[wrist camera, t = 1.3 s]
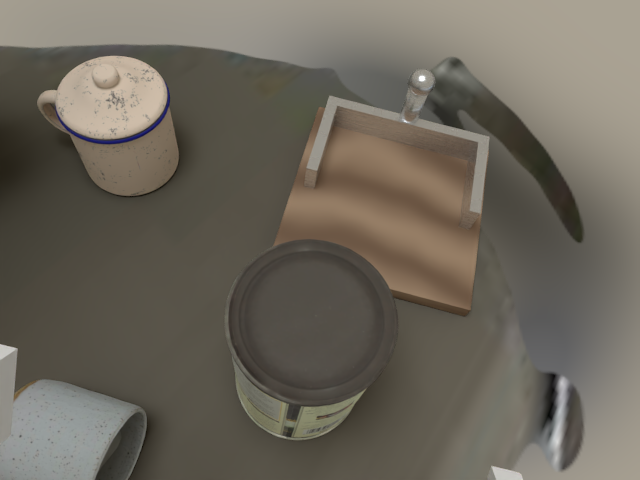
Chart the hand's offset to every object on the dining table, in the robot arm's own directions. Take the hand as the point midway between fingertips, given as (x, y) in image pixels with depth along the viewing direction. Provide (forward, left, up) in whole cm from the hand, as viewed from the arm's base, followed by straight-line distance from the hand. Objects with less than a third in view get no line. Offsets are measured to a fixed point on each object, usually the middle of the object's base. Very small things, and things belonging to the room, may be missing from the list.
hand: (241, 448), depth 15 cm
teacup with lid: (-33, +5, -29) cm, 44 cm away
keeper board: (-15, +24, -28) cm, 40 cm away
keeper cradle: (-18, +27, -27) cm, 42 cm away
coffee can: (-6, +8, -29) cm, 30 cm away
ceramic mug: (-9, -10, -29) cm, 31 cm away
